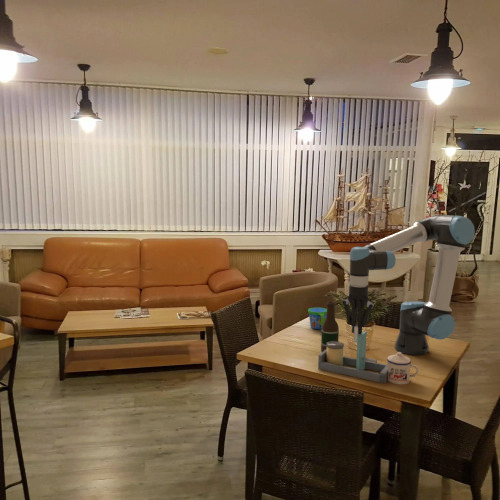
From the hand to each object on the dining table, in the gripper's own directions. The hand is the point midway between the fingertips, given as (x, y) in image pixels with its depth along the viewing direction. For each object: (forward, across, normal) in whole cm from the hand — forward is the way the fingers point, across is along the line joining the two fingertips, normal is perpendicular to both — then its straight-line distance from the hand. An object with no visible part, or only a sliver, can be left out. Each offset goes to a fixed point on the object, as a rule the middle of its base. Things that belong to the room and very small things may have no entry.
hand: (356, 341), depth 191 cm
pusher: (+13, -5, 0) cm, 14 cm away
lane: (+13, 0, 0) cm, 13 cm away
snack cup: (+13, +38, -48) cm, 62 cm away
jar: (+13, +9, 0) cm, 16 cm away
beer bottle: (+13, +17, -14) cm, 26 cm away
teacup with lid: (+13, -19, -1) cm, 23 cm away
